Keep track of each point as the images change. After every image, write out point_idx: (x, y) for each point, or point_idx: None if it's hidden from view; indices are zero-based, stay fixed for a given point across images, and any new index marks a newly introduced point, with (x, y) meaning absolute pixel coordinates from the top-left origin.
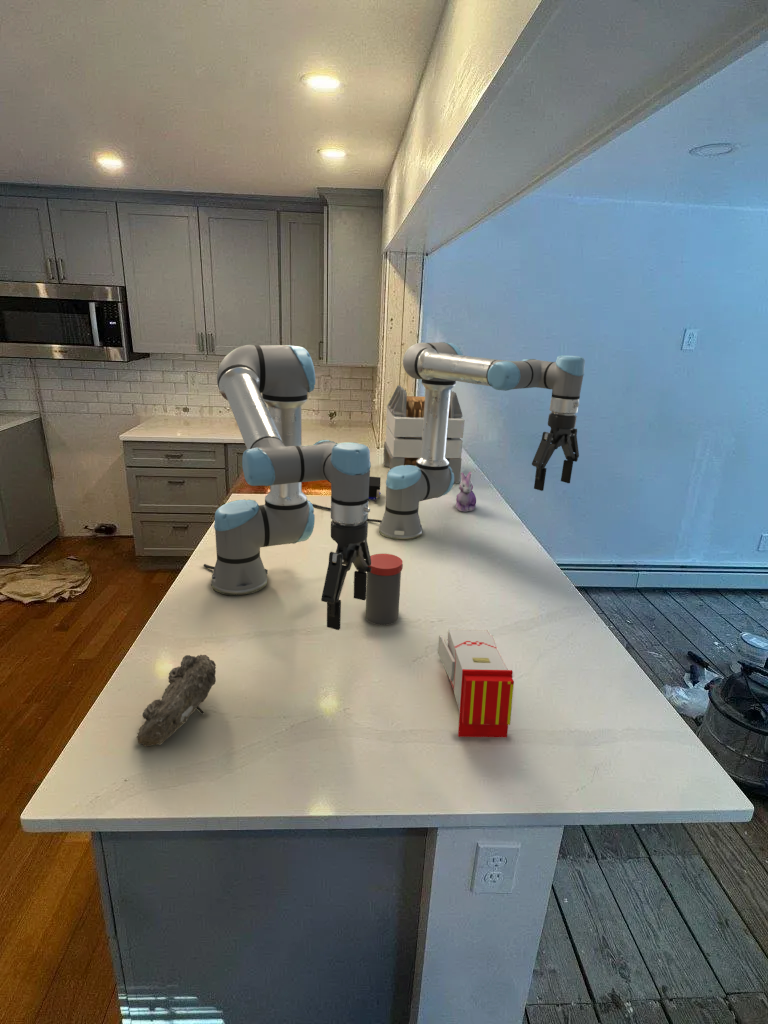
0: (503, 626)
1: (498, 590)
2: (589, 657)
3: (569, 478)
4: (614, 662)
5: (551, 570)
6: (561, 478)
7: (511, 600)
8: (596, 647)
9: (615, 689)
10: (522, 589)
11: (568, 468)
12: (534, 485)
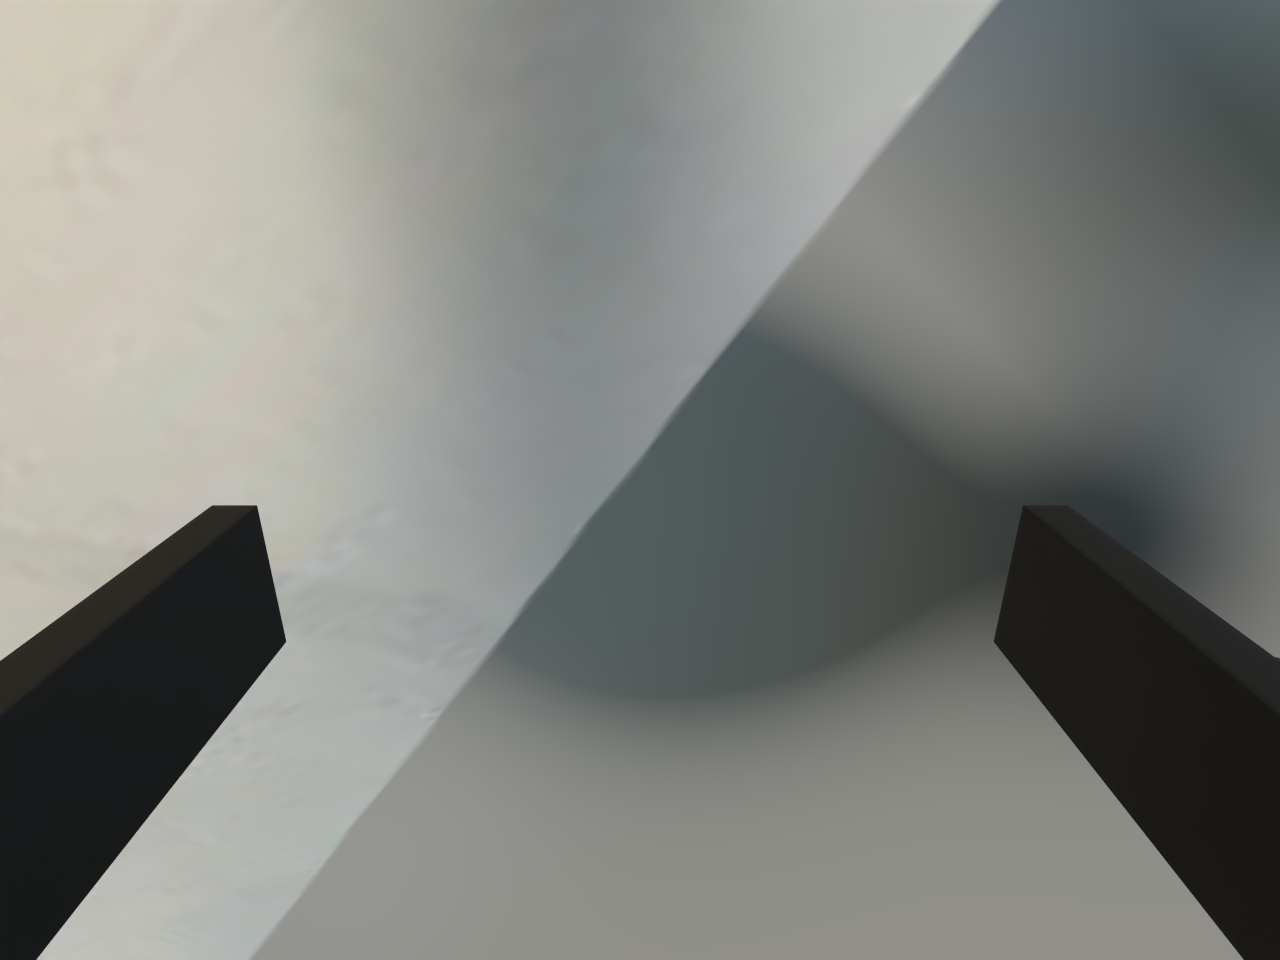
0: (67, 540)
1: (268, 317)
2: (228, 805)
3: (1040, 695)
4: (281, 853)
5: (722, 343)
6: (1049, 535)
7: (256, 424)
8: (299, 791)
9: (172, 904)
10: (393, 386)
11: (1168, 798)
12: (179, 535)
